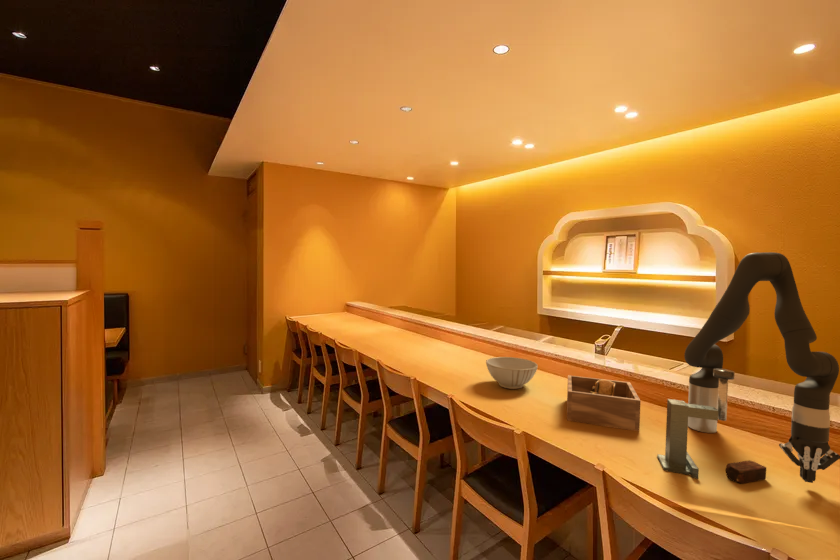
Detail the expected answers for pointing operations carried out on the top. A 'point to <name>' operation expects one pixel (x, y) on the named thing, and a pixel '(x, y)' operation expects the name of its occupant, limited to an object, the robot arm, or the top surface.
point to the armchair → (604, 388)
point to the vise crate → (603, 404)
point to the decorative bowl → (511, 371)
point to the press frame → (682, 436)
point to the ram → (723, 390)
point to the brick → (745, 471)
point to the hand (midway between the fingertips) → (807, 480)
